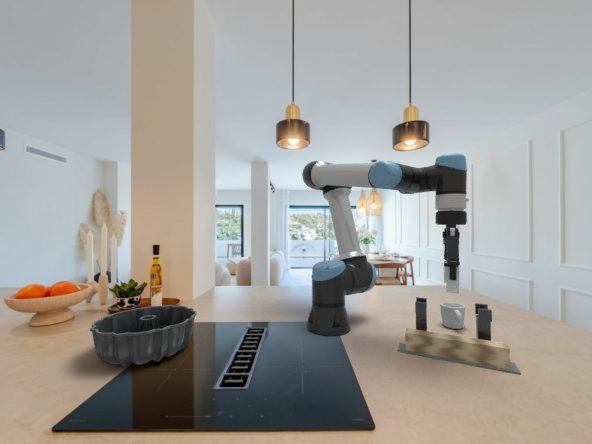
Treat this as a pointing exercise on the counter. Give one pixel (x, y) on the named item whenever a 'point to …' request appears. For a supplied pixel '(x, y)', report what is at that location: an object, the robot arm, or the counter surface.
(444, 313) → the cup
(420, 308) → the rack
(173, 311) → the bundt pan
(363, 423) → the counter surface
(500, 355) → the rail
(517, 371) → the grey base plate
